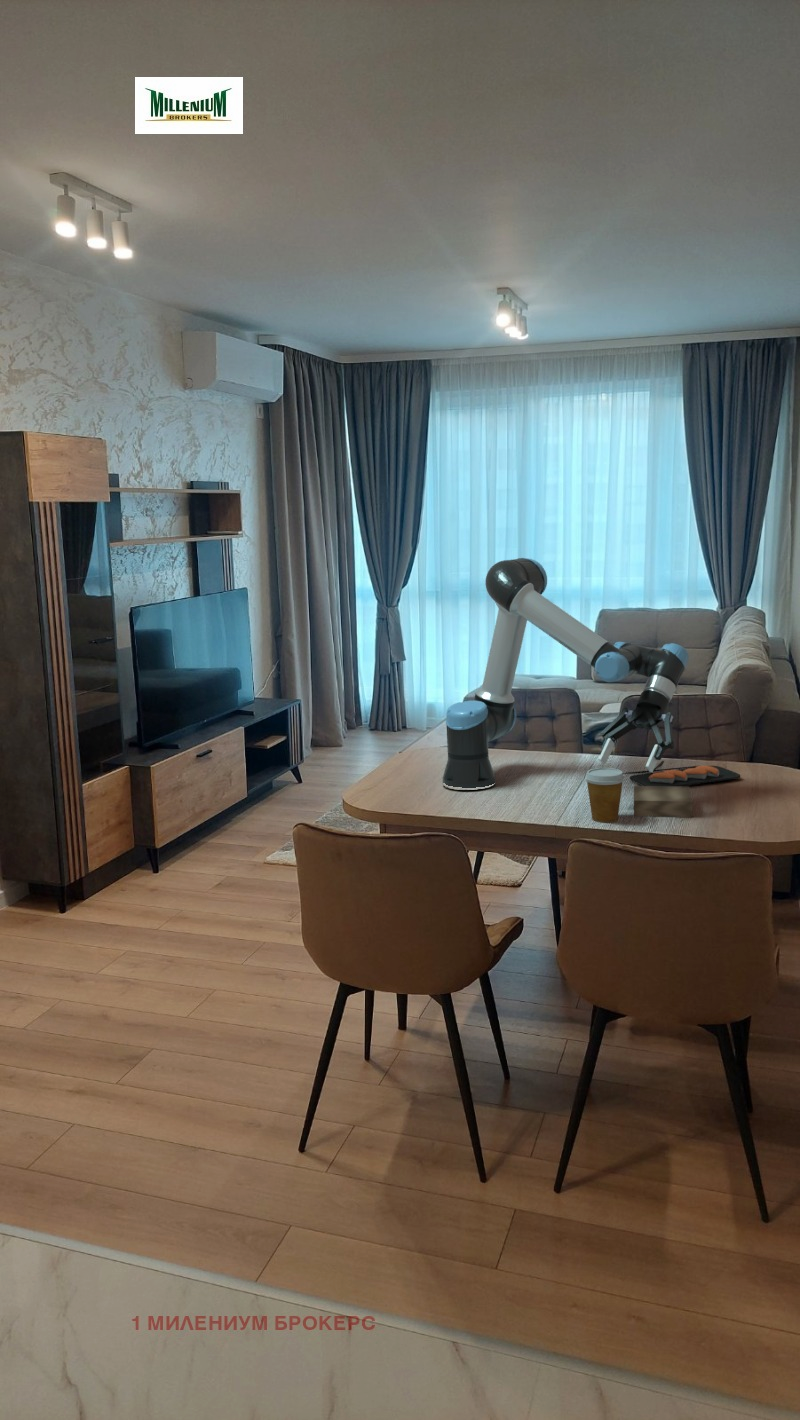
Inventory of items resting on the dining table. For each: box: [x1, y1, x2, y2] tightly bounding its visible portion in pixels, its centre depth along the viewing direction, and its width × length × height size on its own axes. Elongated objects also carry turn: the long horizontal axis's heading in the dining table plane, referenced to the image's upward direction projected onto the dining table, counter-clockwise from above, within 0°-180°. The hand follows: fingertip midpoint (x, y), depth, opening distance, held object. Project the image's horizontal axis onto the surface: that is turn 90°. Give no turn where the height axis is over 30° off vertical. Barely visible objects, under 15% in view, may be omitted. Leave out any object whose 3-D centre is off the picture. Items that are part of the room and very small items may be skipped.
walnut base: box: [633, 785, 693, 818], centre depth 252 cm, size 14×14×4 cm
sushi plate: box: [622, 760, 741, 787], centre depth 285 cm, size 29×30×4 cm
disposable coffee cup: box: [584, 767, 625, 823], centre depth 245 cm, size 10×10×12 cm
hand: (624, 765), depth 248 cm, fingers open, 13 cm apart
